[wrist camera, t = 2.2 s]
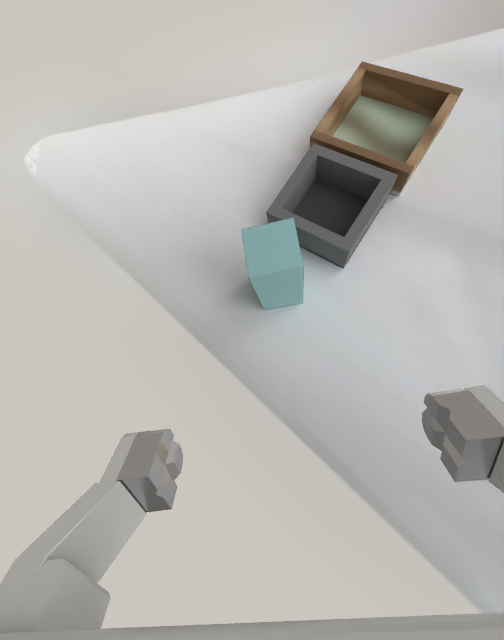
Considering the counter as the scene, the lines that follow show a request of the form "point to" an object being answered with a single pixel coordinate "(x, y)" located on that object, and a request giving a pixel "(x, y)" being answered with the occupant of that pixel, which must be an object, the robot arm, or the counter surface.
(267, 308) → the teal block
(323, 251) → the box
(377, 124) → the walled bay
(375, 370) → the counter surface
